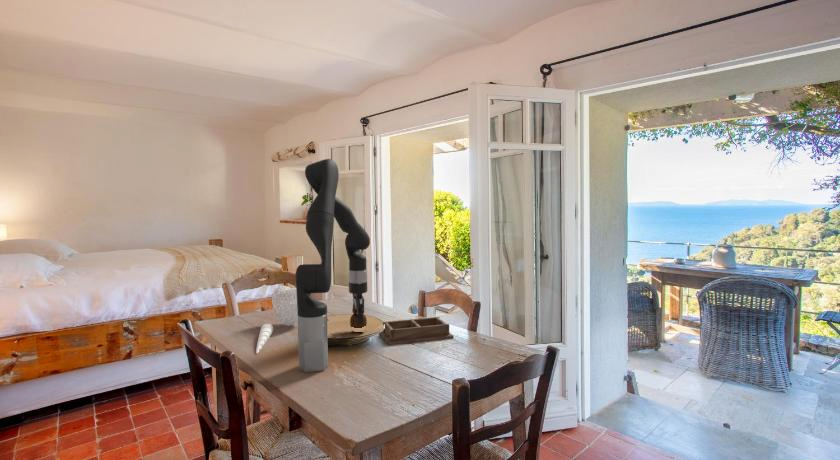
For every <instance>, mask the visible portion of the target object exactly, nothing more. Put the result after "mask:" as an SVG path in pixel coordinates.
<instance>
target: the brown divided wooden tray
mask: <svg viewBox="0 0 840 460" xmlns="http://www.w3.org/2000/svg"><path fill="white" fill-rule="evenodd" d="M384 324H385V329H384V330H383V329H382V330H383V331H382V332H381V333H380V332H379V334H380V335H381V337H382V338H383V339H384V341H385V342H386V343H387V345H388V346H394V345H406V344H412V343H413V344H414V343H422V342H433V341H440V340H441V341H442V340H450V339H449V338H451V339H454V338H455V337H454V335H453V334H452V333H451V332H450V323H447V322H445V321H444V320H442V319H441V318H440V317H439V316H434V317H424V318H410V319H402V320H388V321H383V322H382V326H383V325H384Z"/></svg>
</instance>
